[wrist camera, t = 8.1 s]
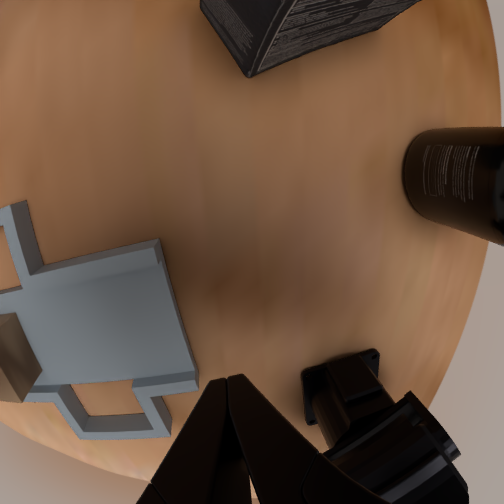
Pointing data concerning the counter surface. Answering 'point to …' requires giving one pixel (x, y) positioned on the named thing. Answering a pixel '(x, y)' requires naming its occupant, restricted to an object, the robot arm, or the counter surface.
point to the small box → (292, 26)
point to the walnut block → (16, 361)
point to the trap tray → (100, 329)
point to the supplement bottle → (459, 179)
